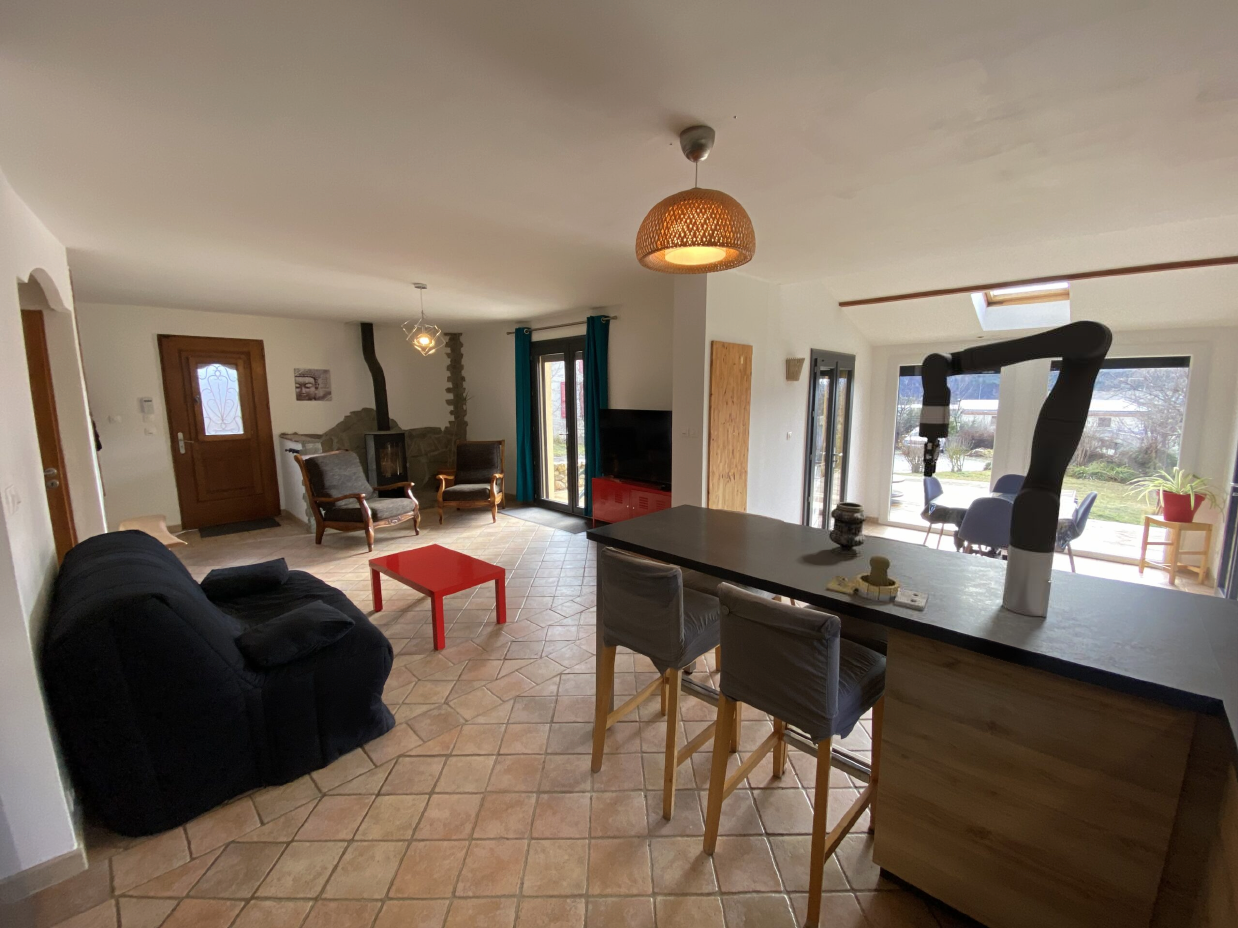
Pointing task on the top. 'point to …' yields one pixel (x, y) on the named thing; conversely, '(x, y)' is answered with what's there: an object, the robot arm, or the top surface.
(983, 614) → the top surface
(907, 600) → the steel hinge leaf
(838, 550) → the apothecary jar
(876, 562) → the cork
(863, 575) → the brass hinge leaf
